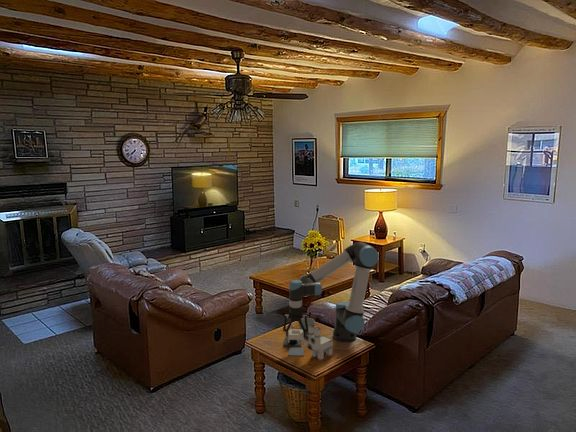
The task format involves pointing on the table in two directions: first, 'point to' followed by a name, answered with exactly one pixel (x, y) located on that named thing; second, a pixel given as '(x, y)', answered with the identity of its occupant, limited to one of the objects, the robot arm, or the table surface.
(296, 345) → the ring stand
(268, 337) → the table surface
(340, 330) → the robot arm
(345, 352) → the table surface
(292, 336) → the cream ring
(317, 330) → the toy llama
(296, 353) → the slate mat
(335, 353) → the table surface
